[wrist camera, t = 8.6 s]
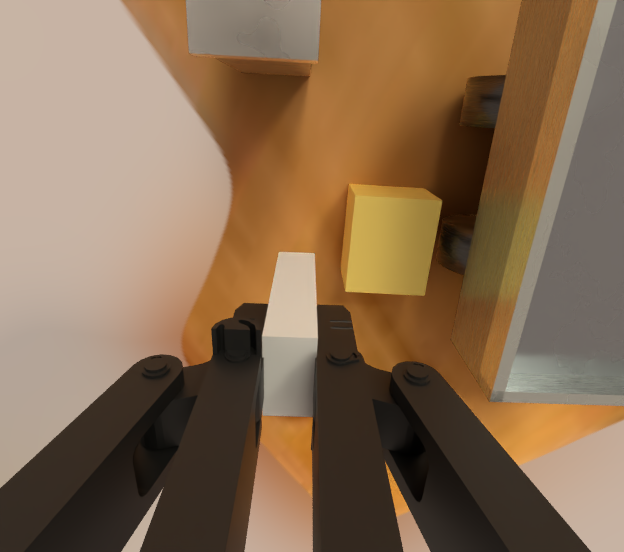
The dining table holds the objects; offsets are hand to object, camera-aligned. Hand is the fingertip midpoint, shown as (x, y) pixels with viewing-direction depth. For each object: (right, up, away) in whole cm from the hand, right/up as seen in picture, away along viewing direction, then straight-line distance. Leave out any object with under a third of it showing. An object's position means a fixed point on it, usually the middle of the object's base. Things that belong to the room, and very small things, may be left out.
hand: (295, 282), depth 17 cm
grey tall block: (-1, +14, +6) cm, 15 cm away
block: (+5, +3, +11) cm, 12 cm away
